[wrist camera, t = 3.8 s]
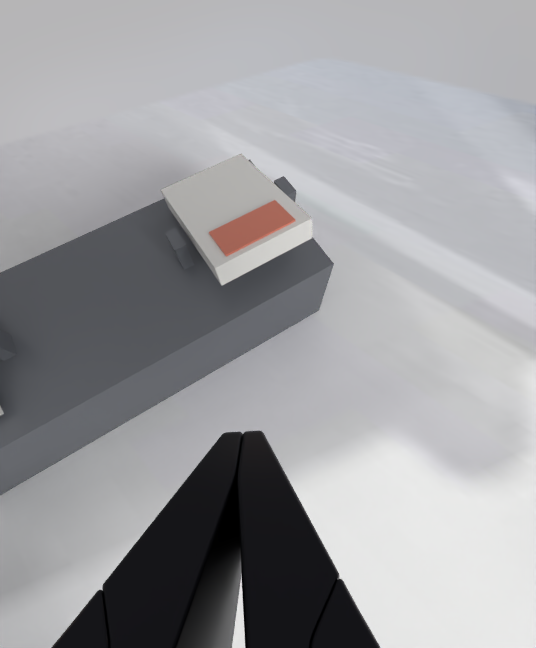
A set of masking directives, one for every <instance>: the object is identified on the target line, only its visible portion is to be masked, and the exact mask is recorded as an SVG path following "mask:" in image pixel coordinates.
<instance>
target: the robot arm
mask: <svg viewBox="0 0 536 648" xmlns="http://www.w3.org/2000/svg"><path fill="white" fill-rule="evenodd" d="M241 572H242V590H243V609H244V628H245V646H246V648H380V646H379V644H378V642H377V641H376V639H375V637H374V635H373V634H372V632H371V630H370V629H369V627H368V625H367V623H366V622H365V620H364V618H363V616H362V615H361V613H360V611H359V609H358V608H357V606H356V604H355V602H354V600H353V598H352V596H351V595H350V593H349V591H348V589H347V587H346V585H345V584H344V582H343V580H342V579H339V573H338V571H337V569H336V567H335V565H334V564H333V562H332V560H331V558H330V556H329V554H328V552H327V551H326V549H325V547H324V545H323V543H322V541H321V539H320V538H319V536H318V534H317V532H316V530H315V528H314V526H313V524H312V523H311V521H310V519H309V517H308V515H307V513H306V511H305V510H304V508H303V506H302V504H301V502H300V500H299V498H298V497H297V495H296V493H295V491H294V489H293V487H292V485H291V484H290V482H289V480H288V478H287V476H286V474H285V472H284V471H283V469H282V467H281V465H280V463H279V461H278V459H277V457H276V456H275V454H274V452H273V450H272V448H271V446H270V444H269V443H268V441H267V439H266V437H265V435H264V433H263V432H262V431H246V432H244V434H242V433H241V432H226V433H224V434H222V435H221V437H220V438H219V439H218V441H217V442H216V443H215V444H214V446H213V447H212V448H211V449H210V451H209V452H208V453H207V454H206V456H205V457H204V458H203V459H202V461H201V462H200V463H199V464H198V466H197V467H196V468H195V469H194V471H193V472H192V473H191V474H190V476H189V477H188V478H187V480H186V481H185V482H184V483H183V485H182V486H181V487H180V488H179V490H178V491H177V492H176V493H175V495H174V496H173V497H172V498H171V500H170V501H169V502H168V503H167V505H166V506H165V507H164V508H163V510H162V511H161V512H160V513H159V515H158V516H157V517H156V518H155V520H154V521H153V522H152V524H151V525H150V526H149V527H148V529H147V530H146V531H145V532H144V534H143V535H142V536H141V537H140V539H139V540H138V541H137V542H136V544H135V545H134V546H133V547H132V549H131V550H130V551H129V552H128V554H127V555H126V556H125V557H124V559H123V560H122V561H121V563H120V564H119V565H118V566H117V568H116V569H115V570H114V571H113V573H112V574H111V575H110V576H109V578H108V579H107V580H106V581H105V583H104V584H103V591H102V590H98V591H97V592H96V594H95V595H94V596H93V597H92V599H91V600H90V601H89V602H88V604H87V605H86V606H85V607H84V609H83V610H82V611H81V612H80V614H79V615H78V616H77V617H76V619H75V620H74V621H73V622H72V624H71V625H70V626H69V627H68V628H67V630H66V631H65V632H64V633H63V634H62V636H61V637H60V638H59V639H58V640H57V642H56V643H55V644H54V645H53V647H52V648H232V641H233V634H234V626H235V618H236V611H237V603H238V595H239V588H240V580H241Z"/></svg>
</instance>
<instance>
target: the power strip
mask: <svg viewBox="0 0 536 648" xmlns="http://www.w3.org/2000/svg"><path fill="white" fill-rule="evenodd" d="M249 161H250V160H249ZM250 162H251V161H250ZM251 163H252V162H251ZM252 164H253V163H252ZM253 165H254V164H253ZM274 184H275V185H276V186H277V187H278V188H279V189H281V190H282V191H283V192H284V193H285V194H286V195H287V196H288V197H289V198H290V199H292V200H293V201H294V202H295V198H296V190H295V189H294V188H293V186H292V185H291V184H290V183H289V182H288V181H287V179H286V178H285V177H284V176H283V177H281V178H279V179H277V180H275V181H274ZM333 265H334V263H333V262H332V261H331V260H330V258H329V257H328V256H327V255H326V254H325V252H324V251H323V250H322V249H321V247H320V246H319V245H318V244H317V242H316V241H315V240H314V239H313V237H312V238H311V239H309V240H308V241H306V242H304V243H302V244H300V245H298V246H296V247H294V248H292V249H291V250H289V251H287V252H285V253H283V254H281V255H279V256H277V257H275V258H273V259H272V260H270V261H268V262H266V263H264V264H262V265H260V266H258V267H256V268H255V269H253V270H251V271H249V272H247V273H245V274H243V275H241V276H239V277H238V278H236V279H234V280H232V281H230V282H228V283H226V284H224V285H221V284H220V283H219V281H218V280H217V278H216V277H215V275H214V274H213V272H212V271H211V269H210V268H209V266H208V265H207V263H206V262H205V260H204V259H203V258H202V256H201V255H200V253H199V252H198V250H197V249H196V247H195V246H194V244H193V243H192V241H191V240H190V238H189V237H188V235H187V234H186V233H185V231H184V230H183V228H182V227H181V225H180V224H179V222H178V221H177V219H176V218H175V216H174V215H173V213H172V212H171V211H170V209H169V207H168V205H167V203H166V201H165V199H162V200H160V201H158V202H155V203H153V204H151V205H149V206H147V207H144V208H142V209H140V210H138V211H136V212H133V213H131V214H129V215H127V216H125V217H122V218H120V219H118V220H116V221H114V222H111V223H109V224H107V225H105V226H103V227H100V228H98V229H96V230H94V231H92V232H89V233H87V234H85V235H83V236H81V237H78V238H76V239H74V240H72V241H70V242H67V243H65V244H63V245H61V246H59V247H56V248H54V249H52V250H50V251H48V252H45V253H43V254H41V255H39V256H37V257H34V258H32V259H30V260H28V261H26V262H23V263H21V264H19V265H17V266H15V267H12V268H10V269H8V270H6V271H4V272H1V273H0V406H1V408H2V411H3V413H4V414H3V415H1V416H0V495H1V494H3V493H5V492H6V491H8V490H10V489H12V488H13V487H15V486H17V485H18V484H20V483H22V482H24V481H25V480H27V479H29V478H31V477H32V476H34V475H36V474H37V473H39V472H41V471H43V470H44V469H46V468H48V467H49V466H51V465H53V464H55V463H56V462H58V461H60V460H62V459H63V458H65V457H67V456H68V455H70V454H72V453H74V452H75V451H77V450H79V449H81V448H82V447H84V446H86V445H87V444H89V443H91V442H93V441H94V440H96V439H98V438H99V437H101V436H103V435H105V434H106V433H108V432H110V431H112V430H113V429H115V428H117V427H118V426H120V425H122V424H124V423H125V422H127V421H129V420H130V419H132V418H134V417H136V416H137V415H139V414H141V413H143V412H144V411H146V410H148V409H149V408H151V407H153V406H155V405H156V404H158V403H160V402H161V401H163V400H165V399H167V398H168V397H170V396H172V395H174V394H175V393H177V392H179V391H180V390H182V389H184V388H186V387H187V386H189V385H191V384H192V383H194V382H196V381H198V380H199V379H201V378H203V377H205V376H206V375H208V374H210V373H211V372H213V371H215V370H217V369H218V368H220V367H222V366H224V365H225V364H227V363H229V362H230V361H232V360H234V359H236V358H237V357H239V356H241V355H242V354H244V353H246V352H248V351H249V350H251V349H253V348H255V347H256V346H258V345H260V344H261V343H263V342H265V341H267V340H268V339H270V338H272V337H273V336H275V335H277V334H279V333H280V332H282V331H284V330H286V329H287V328H289V327H291V326H292V325H294V324H296V323H298V322H299V321H301V320H303V319H304V318H306V317H308V316H310V315H311V314H313V313H315V312H317V311H318V310H319V308H320V305H321V302H322V299H323V296H324V293H325V290H326V286H327V283H328V280H329V277H330V274H331V271H332V268H333Z"/></svg>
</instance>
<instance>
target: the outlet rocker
mask: <svg viewBox="0 0 536 648" xmlns="http://www.w3.org/2000/svg"><path fill="white" fill-rule="evenodd" d="M161 192H162V194H163V196H164V199H165V201H166V203H167V205H168V207H169V209H170V211H171V212H172V213H173V215H174V216H175V218H176V219H177V221H178V222H179V224H180V225H181V227H182V228H183V230H184V231H185V233H186V234H187V235H188V237H189V238H190V240H191V241H192V243H193V244H194V246H195V247H196V249H197V250H198V252H199V253H200V255H201V256H202V258H203V259H204V260H205V262H206V263H207V265H208V266H209V268H210V269H211V271H212V272H213V274H214V275H215V277H216V278H217V280H218V281H219V283H220V284H221V285H224V284H226V283H228V282H230V281H232V280H234V279H236V278H238V277H239V276H241V275H243V274H245V273H247V272H249V271H251V270H253V269H255V268H256V267H258V266H260V265H262V264H264V263H266V262H268V261H270V260H272V259H273V258H275V257H277V256H279V255H281V254H283V253H285V252H287V251H289V250H291V249H292V248H294V247H296V246H298V245H300V244H302V243H304V242H306V241H308V240H309V239H311V238H312V218H311V217H310V216H309V215H308V214H307V213H306V212H305V211H304V210H303V209H301V208H300V207H299V206H298V205H297V204H296V203H295V202H294V201H293V200H292V199H290V198H289V197H288V196H287V195H286V194H285V193H284V192H283V191H282V190H281V189H279V188H278V187H277V186H276V185H275V184H274V183H273V182H272V181H271V180H270V179H268V178H267V177H266V176H265V175H264V174H263V173H262V172H261V171H260V170H259V169H257V168H256V167H255V166H254V165H253V164H252V163H251V162H250V161H249V160H248V159H246V158H245V157H244V156H243V155H242V154H239V155H237V156H235V157H232V158H230V159H228V160H226V161H223V162H221V163H219V164H217V165H214V166H212V167H210V168H208V169H205V170H203V171H201V172H199V173H197V174H194V175H192V176H190V177H188V178H185V179H183V180H181V181H179V182H176V183H174V184H172V185H170V186H167V187H165V188H163V189H161Z"/></svg>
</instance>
